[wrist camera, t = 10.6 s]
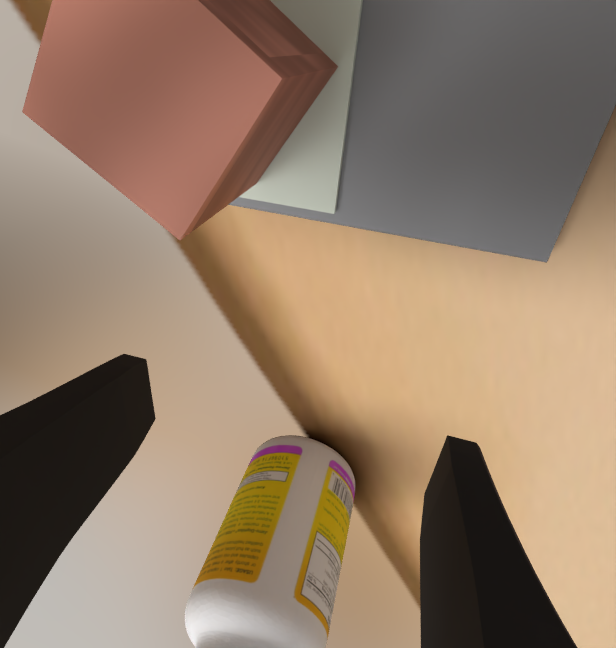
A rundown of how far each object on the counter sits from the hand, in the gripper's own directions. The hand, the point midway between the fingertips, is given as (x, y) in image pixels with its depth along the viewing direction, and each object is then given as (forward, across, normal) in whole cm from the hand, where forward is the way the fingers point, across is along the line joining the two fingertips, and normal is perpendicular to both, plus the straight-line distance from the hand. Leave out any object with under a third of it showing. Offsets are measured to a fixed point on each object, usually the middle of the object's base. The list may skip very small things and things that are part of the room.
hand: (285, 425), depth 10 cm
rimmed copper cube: (+9, +5, -6) cm, 12 cm away
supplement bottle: (+11, +1, +15) cm, 18 cm away
